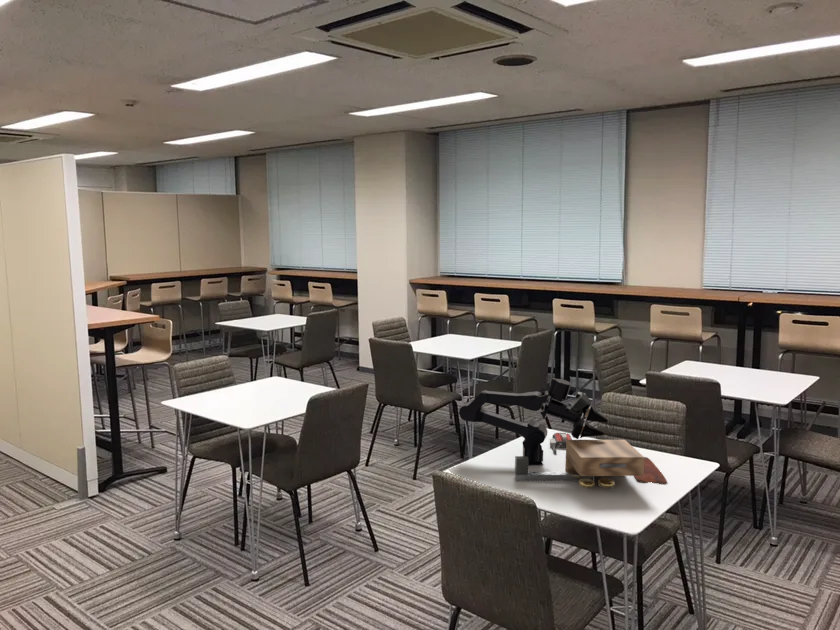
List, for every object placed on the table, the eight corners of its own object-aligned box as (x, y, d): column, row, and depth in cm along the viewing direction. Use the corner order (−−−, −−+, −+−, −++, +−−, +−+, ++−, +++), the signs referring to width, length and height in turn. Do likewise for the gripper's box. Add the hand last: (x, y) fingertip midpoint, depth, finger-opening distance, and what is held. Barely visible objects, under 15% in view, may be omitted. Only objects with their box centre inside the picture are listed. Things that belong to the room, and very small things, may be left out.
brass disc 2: (601, 488, 211) (601, 484, 211) (596, 482, 216) (596, 478, 216) (616, 488, 212) (616, 483, 211) (611, 482, 217) (611, 478, 216)
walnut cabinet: (580, 495, 205) (581, 458, 203) (565, 473, 224) (566, 439, 222) (643, 495, 206) (645, 458, 204) (623, 473, 224) (624, 439, 223)
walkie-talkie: (547, 438, 264) (552, 455, 244) (547, 428, 263) (552, 443, 244) (569, 439, 263) (576, 456, 243) (570, 429, 262) (576, 444, 243)
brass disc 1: (581, 488, 211) (581, 484, 211) (576, 482, 216) (577, 478, 216) (596, 488, 211) (596, 484, 211) (591, 482, 216) (592, 478, 216)
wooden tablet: (668, 486, 215) (669, 481, 215) (637, 484, 216) (637, 479, 216) (651, 459, 241) (651, 454, 241) (623, 457, 242) (623, 453, 242)
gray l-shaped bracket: (516, 482, 216) (516, 459, 216) (514, 478, 219) (515, 455, 218) (593, 481, 217) (594, 458, 216) (591, 478, 220) (592, 455, 219)
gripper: (563, 403, 218) (609, 421, 214) (573, 380, 234) (616, 396, 230) (554, 431, 223) (599, 448, 219) (564, 406, 239) (606, 422, 235)
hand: (605, 427), depth 225 cm, fingers open, 9 cm apart
